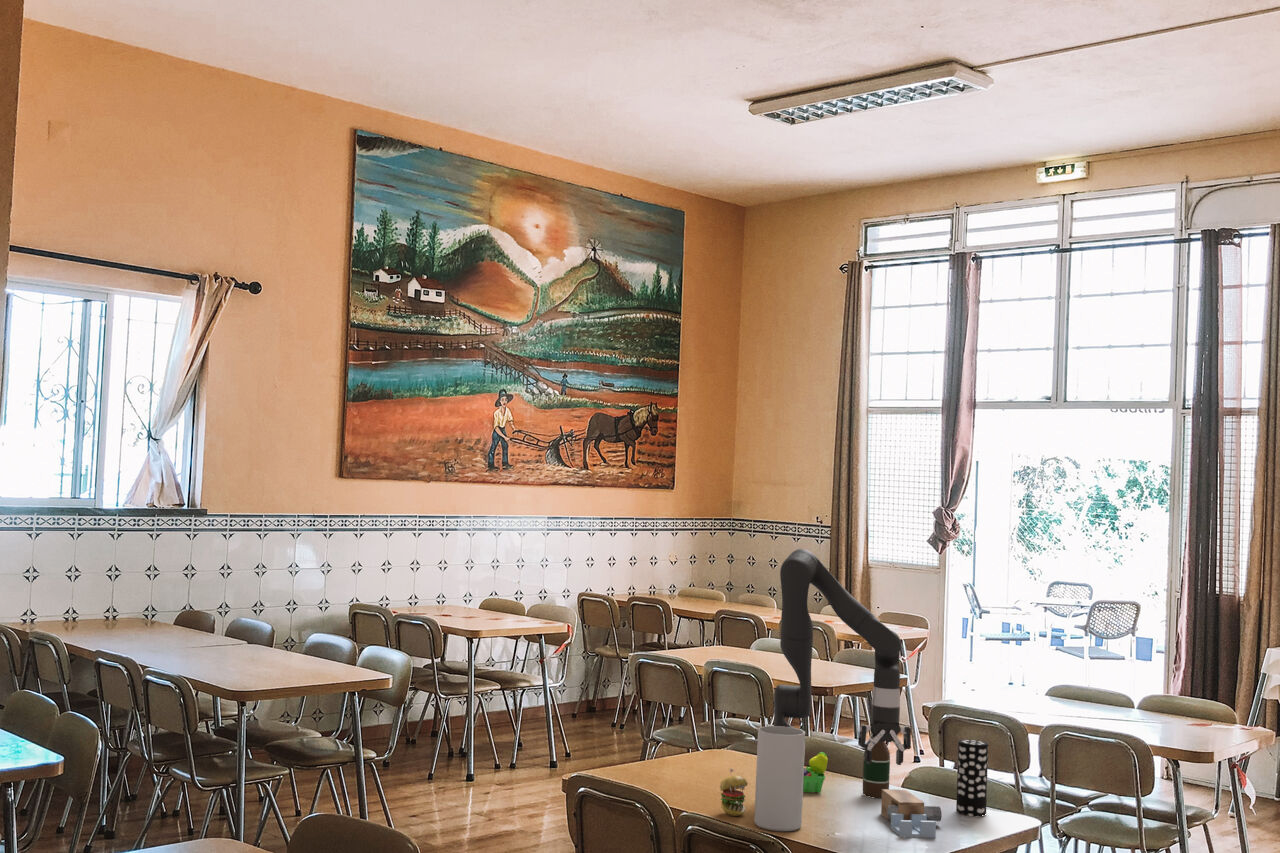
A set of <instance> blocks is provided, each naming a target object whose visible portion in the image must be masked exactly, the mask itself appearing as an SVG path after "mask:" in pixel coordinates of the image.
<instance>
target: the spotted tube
mask: <svg viewBox="0 0 1280 853" xmlns="http://www.w3.org/2000/svg"><path fill="white" fill-rule="evenodd" d="M957 742H958V744H957V745H958V746H957V768H956V770H957V772H956V773H957V775H956V777H957V778H956V805H955V806H956V809H955V810H956V811H957V812H956V813H958V814H960V815H963V814H964V815H963V816H967V815H969V816H968V817H976V816H980V817H983V816H982V815H985V814H986V815H987V802H988V801H987V800H988V799H987V798H988V797H987V796H988V795H987V794H988V768H989V767H988V766H989V765H988V764H989V762H988V760H989V743H988V742H986V741H983V740H978V739H977V740H976V739H970V738H969V739H968V738H967V739H966V738H964V739H959V740H957ZM986 815H985V816H986Z"/></svg>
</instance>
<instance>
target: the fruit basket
mask: <svg viewBox="0 0 1280 853" xmlns="http://www.w3.org/2000/svg"><path fill="white" fill-rule="evenodd" d="M827 756H828V755H827V754H826V753H825V752H823V751H821V752H819V753H817V755H815V756H813V757H811V758H810V759H809V761H808V765H809V766H806V767H804V779H803V793H809V792H818V793H817V794H821V791H822V788H823V784H824V781H825V778H826V775H825V774H824V773H825V772H826V771H827V767H828V765H827V764H828V760H829V759H828V757H827Z"/></svg>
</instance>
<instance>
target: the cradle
mask: <svg viewBox="0 0 1280 853" xmlns="http://www.w3.org/2000/svg"><path fill="white" fill-rule="evenodd" d="M890 829H891V830H892V831H893V832H894V833H895V834H896V835H898V836H899V837H901V838H935V837H936V836H937V835H936V834H937V821H927V815H926V814H911V820H903V814H894V813H891V821H890Z"/></svg>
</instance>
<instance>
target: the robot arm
mask: <svg viewBox="0 0 1280 853" xmlns="http://www.w3.org/2000/svg"><path fill="white" fill-rule="evenodd" d="M779 570H780V571H779V572H780V574H779V577H780V587H781V588H780V589H781V600H782V601H781V602H782V603H781V604H782V605H781V618H780V619H781V620H780V622H781V623H780V639H779V640H780V649H781V651H782V652H781V653H782V654H783V655H784V658H785V659H786V660H787V662H788V663H789V665H790V666H791V667H792V670H794V673H795V674H796V677H797V679H798V682H799V685H792V684H778V685H776V686H775V688H774V693H773V726H782V727H791V728H796V727H795V726H793V725H791V724H790V723H789V722H787V721H786V718H787V719H788V718H789V719H790V718H791V719H808V718H809V717H810V715H811V713H812V707H813V706H812V703H813V702H812V701H813V700H812V696H813V695H812V692H813V691H812V659H813V647H814V646H813V645H814V644H813V643H814V625H813V621H812V618H811V615H810V612H809V608H808V598H809V597H808V596H809V588H810V584H811V585H812V586H814V587H815V588H816V589H817V590H818V591H819V592H820V593H821V594H822V595H823V596H824V597H825V599H826V600H827V602H828V604H829V605H830V607H831V608H832V610H833V611H834V613H835V615H837V617H838V618H839V619H840V620H841V621H842V622H843V623H844V624H845V625H847V626H848V627H849V628H850V629H851V630H852V631H854V632H855V633H856V634H857V635H858V636H860V637H862V639H864V641H866V642H867V643H868V645H869V646H871V648H872V649H874V664H875V665H874V672H873V688H872V695H871V696H872V697H871V719H870V720H871V721H870V722H871V723H870V725H867V724H863V723H860V724H859V731H858V742H857V743H858V744H857V745H858V746H859V747H860V748H862V749H864V751H865V761H866V762H867V763H868V764H871V762H872V750H871V749H872V748H873V746H874V745H875V744H876V743H877V742H878V741H880V742H885V743H886V742H888V743H893V744H894V745H895V747H896V748H897V749H896V751H895V752H896V754H895V755H896V756H895V764H896V765H898V766H901V765H902V764H903V763H904V751H906V750H910V749H911V748H912V745H911V744H912V740H911V738H912V736H911V735H912V734H911V733H912V732H911V727H910V726H908V725H903V726H901V725H900V718H901V717H900V712H901V709H900V708H901V693H900V690H901V689H900V687H901V686H900V684H901V679H900V678H901V674H900V657H901V656H900V654H901V651H902V640H901V638H900V637H899V635H898V634H897V633H896V631H894V630H891V629H890V628H888V626H886V625H884V623H882V622H881V621H879V619H878V618H877V617H876V616H875V614H874V613H872V612H871V611H870V610H869V609H868V608H867V607H865V606H864V605H863V604H862V603H861V602H859V601H858V600H857V599H856V598H855V597H854V596H853V595H852V594H851V593H850V592H848V590H846V588H844V587H843V585H842V584H841V583H840V582H839V581H838V580H837V579H836V577H835V576H834V575H833V574H832V573H831V572H830V571H829V570H828V568H827V567H826V566H825V565H824V563H823V562H822V561H821V560H820V559H819V558H818V557H817V556H816V555H815V554H814V553H812V552H811V551H810V550H807V549H805V548H798V549H795V550H793V551H792V552H791V553H790V554H789V555H788V556H787V557H786V558H785V559H784V560H783V562H782V564H781V567H780V569H779ZM796 729H798V728H796ZM869 731H871V733H872V735H871V734H870V737H869V738H868V740H867V734H868V733H869ZM900 732H901V734H902V735H903V738H902V740H903V743H902V742H901V740H900V738H899V737H898V735H899V734H900ZM866 740H867V742H866ZM805 748H806V747H805ZM805 748H804V755H805V752H806V751H805V750H806V749H805ZM803 779H804V773H803ZM803 798H804V797H803ZM803 798H802V804H803Z"/></svg>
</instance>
